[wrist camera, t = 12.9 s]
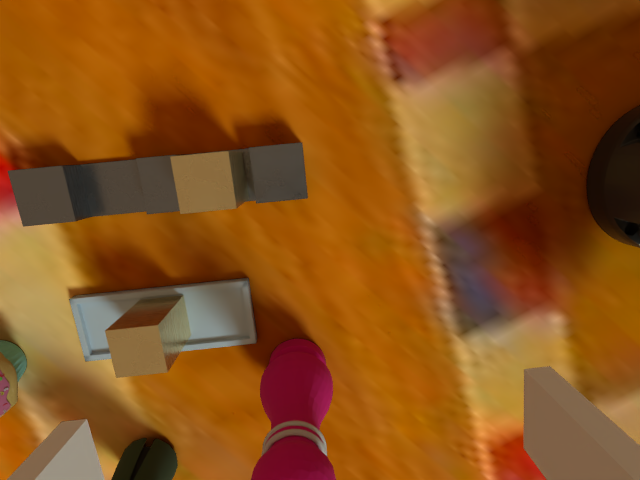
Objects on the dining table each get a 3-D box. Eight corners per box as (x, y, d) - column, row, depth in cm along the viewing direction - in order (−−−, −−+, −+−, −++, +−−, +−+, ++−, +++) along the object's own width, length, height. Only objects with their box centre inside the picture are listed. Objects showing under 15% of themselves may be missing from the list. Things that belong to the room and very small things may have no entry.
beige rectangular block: (191, 334, 40) (167, 372, 33) (148, 339, 40) (116, 377, 33) (183, 295, 39) (157, 325, 32) (140, 299, 39) (104, 330, 32)
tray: (248, 277, 39) (247, 280, 38) (257, 338, 41) (256, 343, 40) (75, 295, 39) (69, 299, 38) (90, 356, 40) (85, 361, 39)
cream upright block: (242, 151, 36) (228, 151, 29) (249, 198, 37) (236, 208, 30) (195, 156, 36) (170, 156, 29) (203, 202, 37) (180, 213, 30)
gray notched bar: (302, 143, 36) (301, 142, 33) (307, 194, 37) (307, 198, 34) (31, 169, 36) (7, 170, 33) (45, 220, 37) (23, 226, 34)
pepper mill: (255, 345, 41) (210, 518, 21) (318, 325, 41) (331, 482, 21) (277, 400, 42) (254, 608, 23) (338, 381, 42) (367, 575, 23)
